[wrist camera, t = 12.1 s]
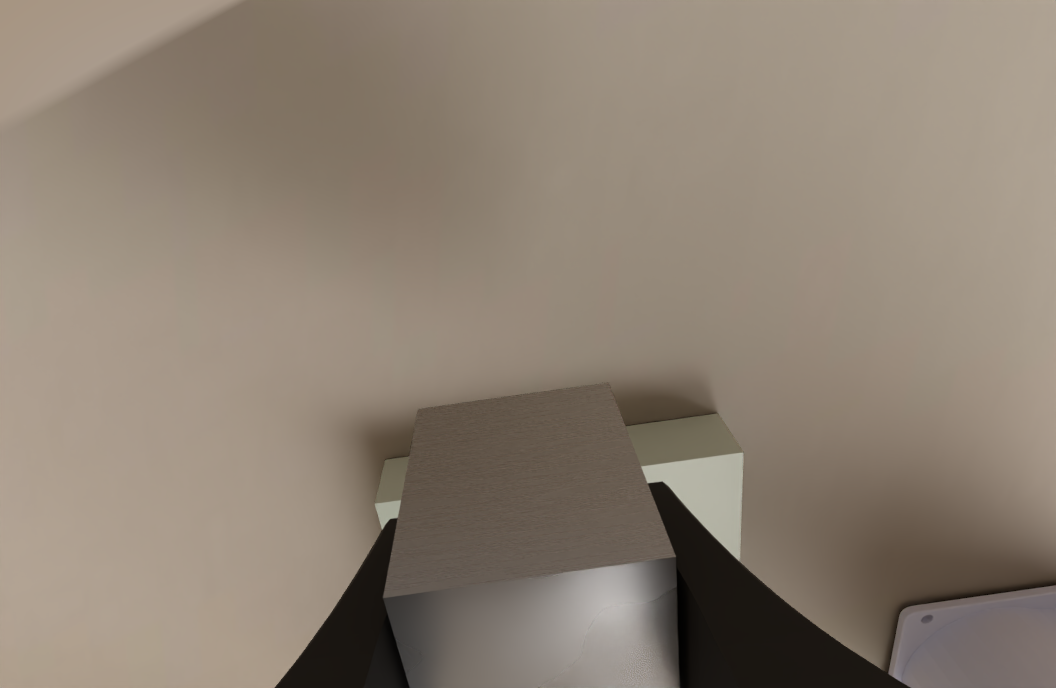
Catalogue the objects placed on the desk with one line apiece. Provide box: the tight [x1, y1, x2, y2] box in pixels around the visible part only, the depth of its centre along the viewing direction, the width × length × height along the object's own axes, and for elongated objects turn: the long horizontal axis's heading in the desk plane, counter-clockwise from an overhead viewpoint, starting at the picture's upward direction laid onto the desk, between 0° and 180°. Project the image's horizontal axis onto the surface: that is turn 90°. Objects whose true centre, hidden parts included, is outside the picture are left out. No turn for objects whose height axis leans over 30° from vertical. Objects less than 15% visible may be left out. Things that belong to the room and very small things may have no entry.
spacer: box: [383, 383, 679, 688], centre depth 12 cm, size 4×4×5 cm
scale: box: [375, 413, 744, 562], centre depth 24 cm, size 12×17×3 cm
